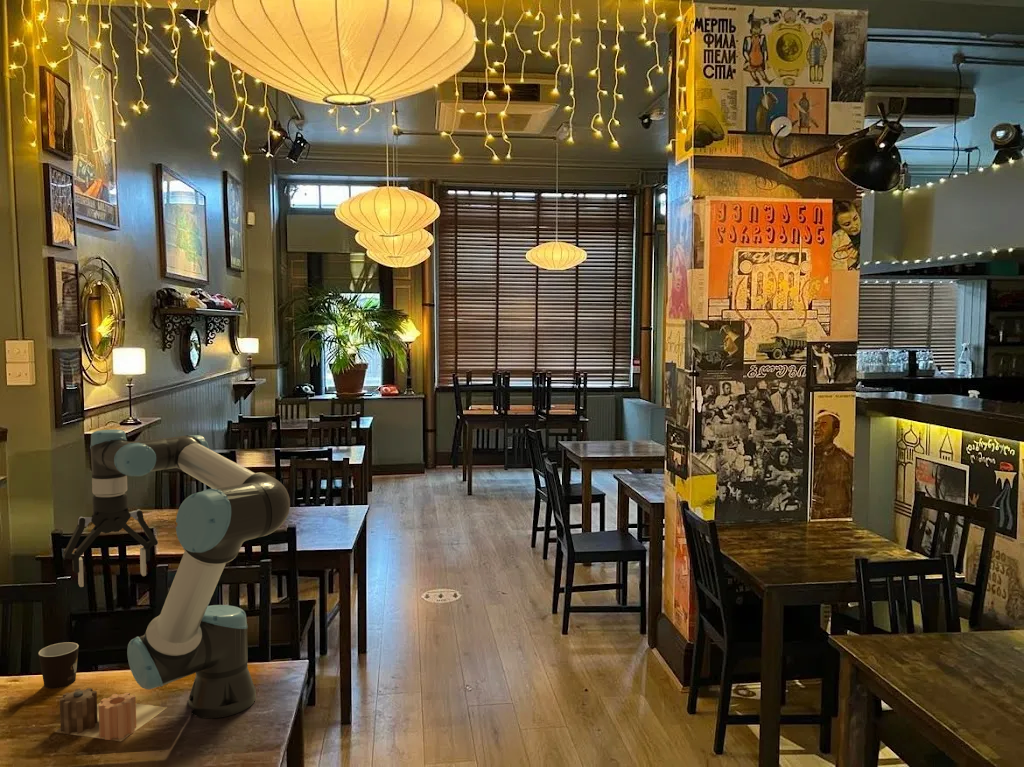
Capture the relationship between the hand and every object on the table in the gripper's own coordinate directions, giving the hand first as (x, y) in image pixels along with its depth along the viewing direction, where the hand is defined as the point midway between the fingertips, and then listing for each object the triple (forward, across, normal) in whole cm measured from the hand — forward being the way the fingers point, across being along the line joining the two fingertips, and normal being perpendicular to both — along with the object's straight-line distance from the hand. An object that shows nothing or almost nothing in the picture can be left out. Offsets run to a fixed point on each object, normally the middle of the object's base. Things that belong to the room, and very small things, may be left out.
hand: (112, 580), depth 184 cm
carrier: (+29, +4, +16) cm, 33 cm away
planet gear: (+27, +4, +23) cm, 36 cm away
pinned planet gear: (+27, +10, +15) cm, 33 cm away
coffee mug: (+29, +10, -13) cm, 33 cm away
